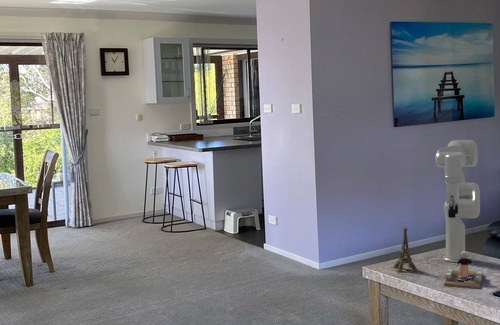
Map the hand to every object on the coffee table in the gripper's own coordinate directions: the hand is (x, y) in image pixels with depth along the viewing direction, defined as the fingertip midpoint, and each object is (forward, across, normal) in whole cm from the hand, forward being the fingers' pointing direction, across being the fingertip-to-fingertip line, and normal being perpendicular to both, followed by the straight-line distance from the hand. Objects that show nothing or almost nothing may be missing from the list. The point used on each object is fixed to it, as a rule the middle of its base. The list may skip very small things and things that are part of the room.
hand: (453, 215), depth 304 cm
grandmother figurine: (+27, +10, +6) cm, 30 cm away
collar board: (+28, +10, +6) cm, 31 cm away
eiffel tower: (+29, -1, -23) cm, 37 cm away
